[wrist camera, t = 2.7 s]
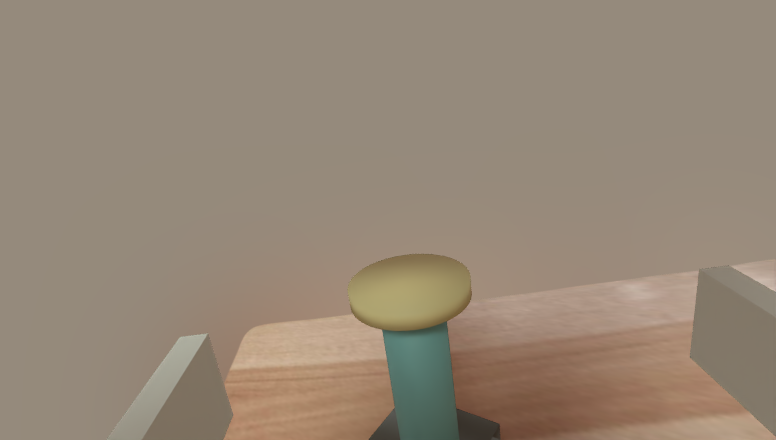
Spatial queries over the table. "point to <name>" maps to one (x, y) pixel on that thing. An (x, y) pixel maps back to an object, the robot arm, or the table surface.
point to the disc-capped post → (416, 335)
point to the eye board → (474, 432)
